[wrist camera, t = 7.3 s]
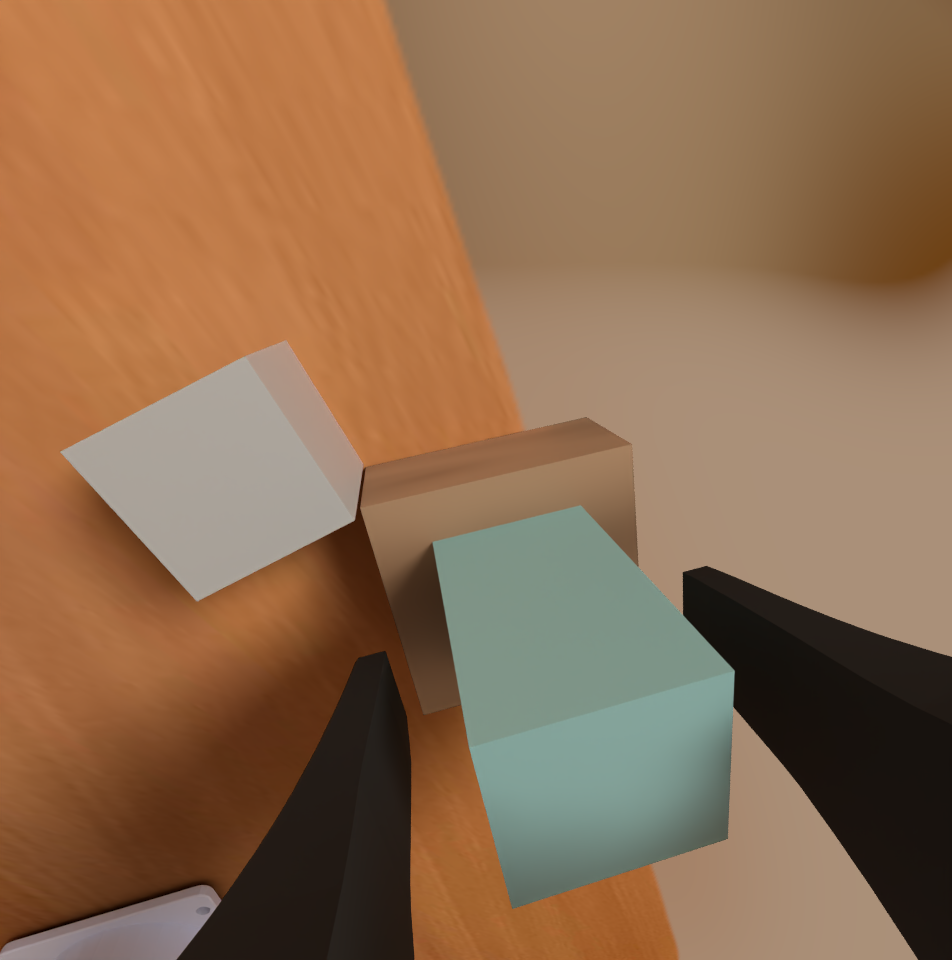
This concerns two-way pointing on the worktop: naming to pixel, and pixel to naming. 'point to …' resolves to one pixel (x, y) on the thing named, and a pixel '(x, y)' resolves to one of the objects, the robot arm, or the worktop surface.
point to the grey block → (227, 470)
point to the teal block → (583, 704)
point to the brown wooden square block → (483, 520)
